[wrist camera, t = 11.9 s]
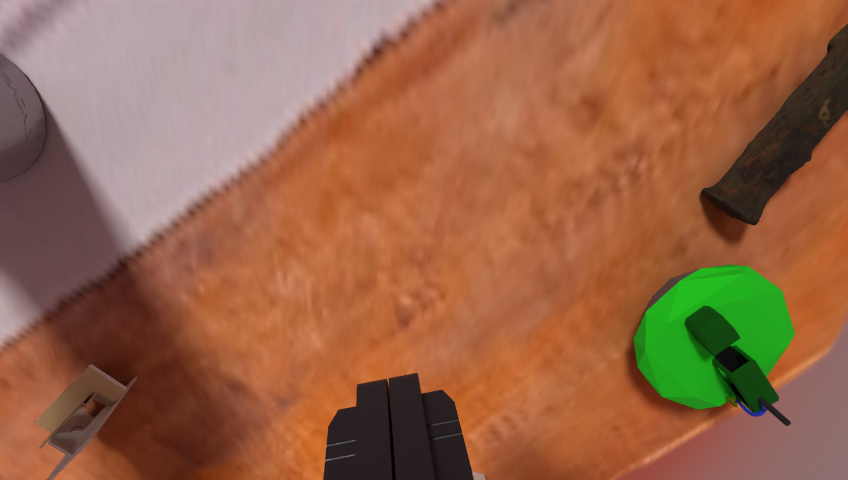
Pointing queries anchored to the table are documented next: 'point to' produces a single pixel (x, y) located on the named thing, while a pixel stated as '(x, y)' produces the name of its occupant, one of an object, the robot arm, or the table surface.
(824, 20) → the table surface
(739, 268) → the floating island model
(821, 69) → the hand tool
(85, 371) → the architectural model
